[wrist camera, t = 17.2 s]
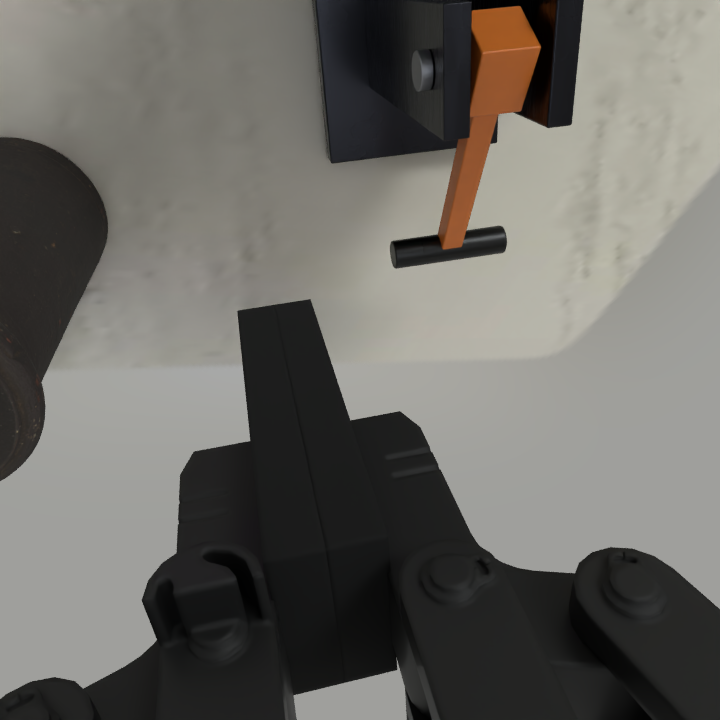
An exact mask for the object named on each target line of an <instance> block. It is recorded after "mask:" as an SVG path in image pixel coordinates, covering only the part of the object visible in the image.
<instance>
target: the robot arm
mask: <svg viewBox="0 0 720 720" xmlns="http://www.w3.org/2000/svg"><path fill="white" fill-rule="evenodd" d="M237 313H238V323H239V332H240V342H241V352H242V362H243V372H244V382H245V392H246V401H247V410H248V421H249V430H250V441H249V442H243V443H238V444H232V445H227V446H222V447H216V448H211V449H206V450H200V451H195V452H193V454H192V456H191V458H190V460H189V461H188V463H187V464H186V466H185V468H184V469H183V471H182V473H181V475H180V491H179V493H180V494H179V501H180V504H179V515H178V520H179V524H178V535H177V553H176V554H175V555H174V556H172V557H170V558H169V559H167V560H166V561H165V562H163V563H162V564H161V565H160V567H159V568H158V569H157V571H156V572H155V573H154V574H153V575H152V577H151V578H150V579H149V580H148V583H147V586H146V589H145V592H144V596H143V598H142V602H143V605H144V608H145V610H146V613H147V615H148V618H149V620H150V623H151V625H152V628H153V630H154V633H155V635H156V638H157V641H156V642H155V643H154V644H153V645H152V646H151V647H150V648H149V649H148V650H147V651H146V652H145V653H144V654H142V655H141V656H140V657H139V658H137V659H136V660H134V661H133V662H131V663H129V664H128V665H126V666H125V667H123V668H121V669H119V670H118V671H116V672H114V673H112V674H110V675H108V676H106V677H105V678H103V679H101V680H99V681H97V682H95V683H93V684H91V685H89V686H88V687H86V688H84V689H83V688H82V687H80V686H79V685H78V684H77V683H76V682H75V681H71V680H66V679H61V678H56V677H54V678H48V679H43V680H38V681H32V682H30V683H27V684H25V685H24V686H22V687H20V688H18V689H16V690H14V691H12V692H10V693H8V694H6V695H5V696H4V697H2V698H1V699H0V720H297V719H296V713H295V705H294V697H293V695H296V694H300V693H304V692H308V691H313V690H317V689H321V688H325V687H329V686H333V685H337V684H341V683H345V682H349V681H353V680H358V679H362V678H366V677H370V676H374V675H378V674H382V673H386V672H390V671H395V670H397V660H398V664H399V668H400V671H401V674H402V678H403V682H404V685H405V694H406V712H407V720H720V609H719V608H718V607H716V606H715V605H714V604H713V603H712V602H711V601H710V600H709V599H707V598H706V597H705V596H704V595H703V594H701V592H699V591H698V590H697V589H696V588H695V587H693V585H691V584H690V583H689V582H688V581H687V580H686V579H685V578H683V577H682V576H681V575H680V574H679V573H677V572H676V571H675V570H674V569H673V568H671V567H670V566H668V565H667V564H665V563H664V562H662V561H661V560H659V559H658V558H656V557H655V556H652V555H649V554H646V553H643V552H640V551H637V550H635V549H628V548H612V547H610V548H607V549H603V550H599V551H595V552H592V553H591V554H590V555H588V556H587V557H586V558H585V559H583V560H582V561H581V562H580V563H579V565H578V567H577V570H576V573H575V574H574V573H559V572H543V571H532V570H525V569H520V568H516V567H513V566H510V565H507V564H505V563H502V562H500V561H499V560H497V559H495V558H494V556H493V555H492V554H491V553H490V552H488V551H486V550H485V549H483V548H482V547H480V546H479V545H478V544H477V542H476V541H475V539H474V537H473V536H472V534H471V533H470V531H469V528H468V526H467V524H466V523H465V520H464V518H463V516H462V514H461V512H460V510H459V507H458V505H457V503H456V501H455V499H454V497H453V495H452V493H451V491H450V489H449V486H448V485H447V482H446V480H445V478H444V476H443V474H442V472H441V470H439V467H438V463H437V461H436V459H435V457H434V455H433V453H432V452H431V451H430V447H429V445H428V443H427V440H426V439H425V436H424V434H423V432H422V430H421V428H420V427H419V426H418V425H417V424H415V423H414V422H413V421H411V420H410V419H409V418H408V417H406V416H405V415H404V414H403V413H401V412H400V411H399V412H394V413H389V414H383V415H378V416H372V417H367V418H362V419H356V420H351V421H350V418H349V415H348V412H347V409H346V406H345V403H344V400H343V397H342V394H341V391H340V388H339V385H338V383H337V379H336V376H335V373H334V370H333V367H332V364H331V361H330V357H329V354H328V351H327V348H326V345H325V342H324V339H323V336H322V333H321V330H320V327H319V324H318V321H317V318H316V315H315V312H314V309H313V306H312V303H311V300H310V299H309V300H303V301H296V302H290V303H284V304H277V305H271V306H265V307H258V308H252V309H246V310H239V311H237ZM396 657H397V660H396Z"/></svg>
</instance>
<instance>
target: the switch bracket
mask: <svg viewBox="0 0 720 720" xmlns="http://www.w3.org/2000/svg"><path fill="white" fill-rule="evenodd" d="M312 1H313V11H314V21H315V31H316V41H317V51H318V61H319V72H320V82H321V92H322V102H323V112H324V122H325V132H326V142H327V153H328V159H329V160H330V162H331V163H340V162H348V161H356V160H364V159H372V158H380V157H388V156H396V155H404V154H412V153H420V152H428V151H436V150H444V149H452V148H457V144H458V139H465V138H469V137H470V90H471V28H472V10H483V9H493V8H503V7H513V6H520V7H521V9H522V11H523V12H524V14H525V16H526V18H527V20H528V22H529V24H530V26H531V28H532V30H533V32H534V34H535V36H536V38H537V40H538V42H539V44H540V46H541V49H540V53H539V56H538V59H537V62H536V65H535V69H534V72H533V75H532V78H531V81H530V84H529V88H528V91H527V94H526V97H525V100H524V104H523V107H522V110H521V111H519V112H514V113H516V114H518V115H520V116H523V117H525V118H527V119H529V120H531V121H534V122H536V123H538V124H540V125H543V126H545V127H547V128H552V127H560V126H568V125H571V124H572V115H573V105H574V95H575V84H576V74H577V64H578V53H579V43H580V33H581V22H582V12H583V2H584V0H312ZM497 128H498V117H497V121H496V124H495V128H494V132H493V135H492V139H491V143H490V144H492V143H497Z"/></svg>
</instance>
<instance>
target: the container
mask: <svg viewBox="0 0 720 720" xmlns="http://www.w3.org/2000/svg"><path fill="white" fill-rule="evenodd" d="M107 233H108V223H107V216H106V211H105V208H104V205H103V202H102V200H101V197H100V195H99V194H98V192H97V190H96V188H95V187H94V185H93V184H92V182H91V181H90V180H89V179H88V177H87V176H86V175H85V174H84V173H83V172H82V171H81V170H80V169H79V168H78V167H77V166H76V165H75V164H74V163H73V162H71V161H70V160H69V159H68V158H66V157H65V156H63V155H62V154H60V153H58V152H56V151H55V150H53V149H51V148H49V147H47V146H44V145H42V144H39V143H36V142H33V141H29V140H24V139H19V138H8V137H3V138H0V481H1V480H3V479H5V478H6V477H8V476H9V475H10V474H12V473H13V472H14V471H16V470H17V468H19V467H20V466H21V465H22V464H23V463H24V462H25V461H26V460H27V458H28V457H29V456H30V455H31V454H32V452H33V450H34V449H35V447H36V445H37V443H38V441H39V439H40V436H41V433H42V430H43V425H44V420H45V399H44V392H43V387H42V383H41V382H42V380H43V377H44V375H45V373H46V371H47V369H48V366H49V364H50V362H51V360H52V358H53V356H54V353H55V351H56V349H57V347H58V345H59V343H60V341H61V339H62V337H63V334H64V332H65V330H66V328H67V326H68V324H69V321H70V320H71V317H72V315H73V313H74V311H75V309H76V307H77V305H78V303H79V301H80V299H81V297H82V295H83V293H84V290H85V288H86V286H87V284H88V282H89V280H90V278H91V276H92V274H93V272H94V270H95V268H96V266H97V264H98V263H99V260H100V257H101V255H102V253H103V250H104V247H105V244H106V240H107Z"/></svg>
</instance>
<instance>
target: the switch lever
mask: <svg viewBox="0 0 720 720" xmlns="http://www.w3.org/2000/svg"><path fill="white" fill-rule="evenodd" d="M540 49H541V46H540V44H539V42H538V40H537V38H536V36H535V34H534V32H533V30H532V28H531V26H530V24H529V22H528V20H527V18H526V16H525V14H524V12H523V11H522V9H521V7H520V6H513V7H503V8H493V9H483V10H472V28H471V90H470V137H469V138H465V139H458V144H457V148H456V153H455V157H454V162H453V167H452V171H451V176H450V180H449V185H448V190H447V194H446V199H445V203H444V208H443V213H442V217H441V222H440V226H439V231H438V235H431V236H424V237H417V238H410V239H403V240H396V241H392V242H391V244H390V255H391V261H392V264H393V266H394V268H396V269H397V268H403V267H410V266H417V265H424V264H431V263H437V262H444V261H451V260H458V259H464V258H471V257H478V256H485V255H492V254H498V253H503V252H505V250H506V246H507V238H506V233H505V230H504V228H503V227H502V226H494V227H487V228H480V229H473V230H466V229H467V226H468V222H469V219H470V215H471V211H472V208H473V204H474V200H475V197H476V193H477V190H478V186H479V182H480V179H481V175H482V171H483V168H484V164H485V161H486V157H487V153H488V150H489V146H490V143H491V139H492V135H493V132H494V128H495V124H496V121H497V117H498V114H502V113H511V112H519V111H521V110H522V107H523V104H524V100H525V97H526V94H527V91H528V88H529V84H530V81H531V78H532V75H533V72H534V69H535V65H536V62H537V59H538V56H539V53H540Z"/></svg>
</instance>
